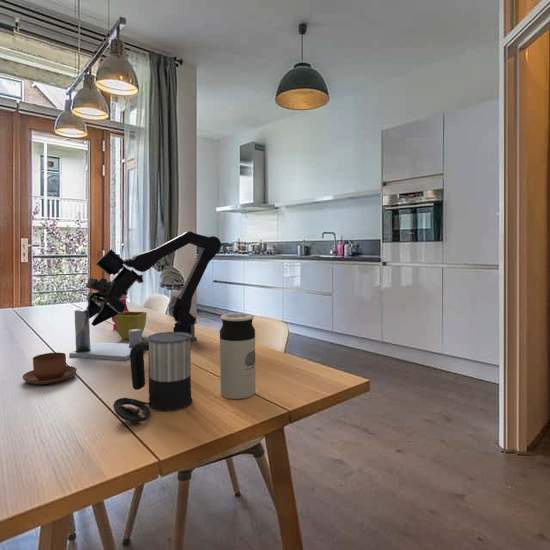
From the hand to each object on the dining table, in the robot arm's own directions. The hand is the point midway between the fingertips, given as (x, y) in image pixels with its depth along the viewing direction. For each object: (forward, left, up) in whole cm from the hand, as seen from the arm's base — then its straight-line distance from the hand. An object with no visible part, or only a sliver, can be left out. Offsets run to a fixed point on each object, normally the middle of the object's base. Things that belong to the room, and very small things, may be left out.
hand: (87, 323), depth 127 cm
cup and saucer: (-6, +23, -10) cm, 26 cm away
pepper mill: (+12, -37, -10) cm, 40 cm away
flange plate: (-6, -3, -10) cm, 12 cm away
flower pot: (-1, -23, -10) cm, 25 cm away
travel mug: (-56, +23, -10) cm, 61 cm away
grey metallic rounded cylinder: (+1, +1, -8) cm, 8 cm away
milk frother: (-42, +36, -10) cm, 56 cm away
